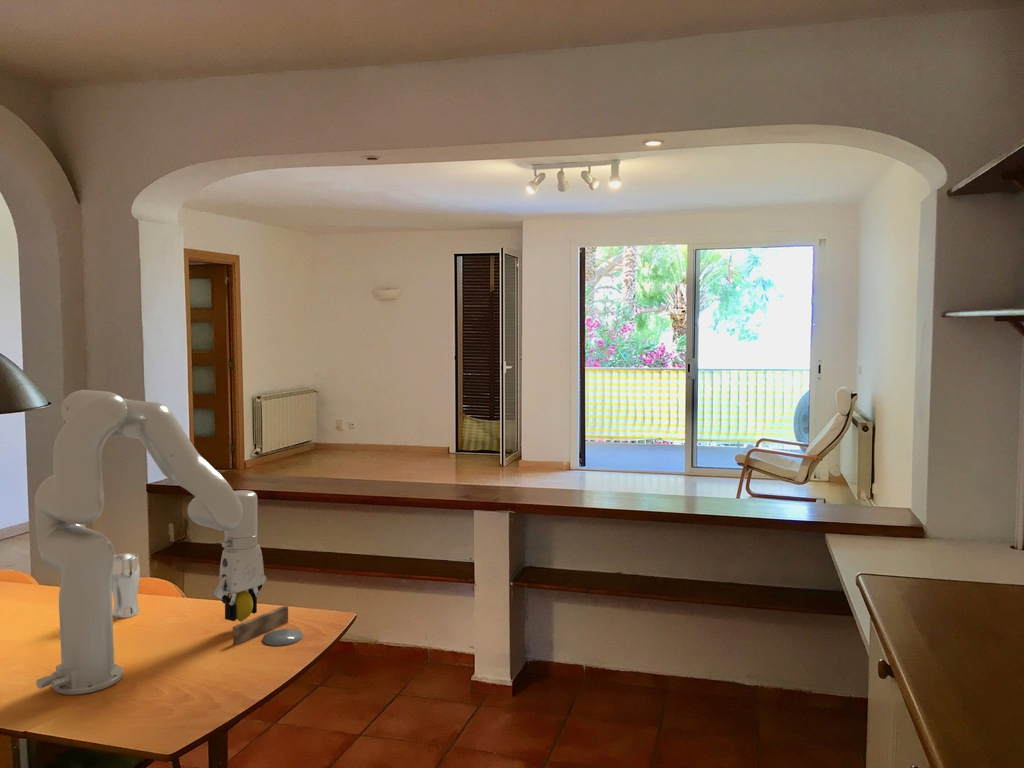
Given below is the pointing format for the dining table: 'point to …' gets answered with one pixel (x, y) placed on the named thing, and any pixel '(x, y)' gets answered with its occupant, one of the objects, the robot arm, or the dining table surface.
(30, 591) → the dining table surface
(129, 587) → the beer glass
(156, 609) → the dining table surface
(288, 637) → the coaster
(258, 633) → the walnut wall
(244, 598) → the lemon
